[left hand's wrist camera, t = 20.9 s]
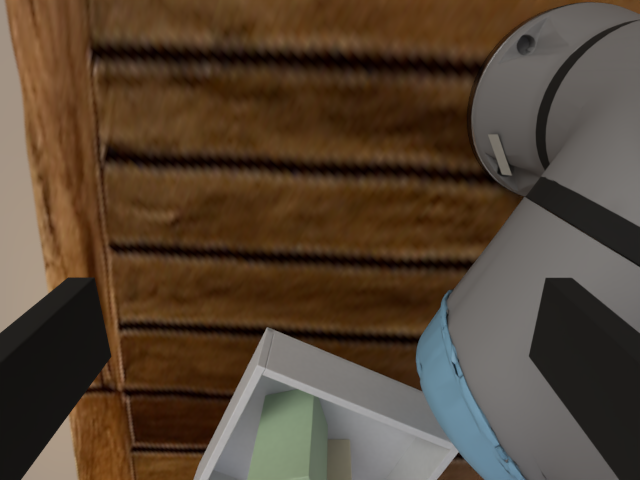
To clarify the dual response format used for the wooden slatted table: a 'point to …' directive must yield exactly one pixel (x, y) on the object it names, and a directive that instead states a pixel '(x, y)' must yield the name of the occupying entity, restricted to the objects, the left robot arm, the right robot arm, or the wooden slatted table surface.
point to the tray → (332, 415)
